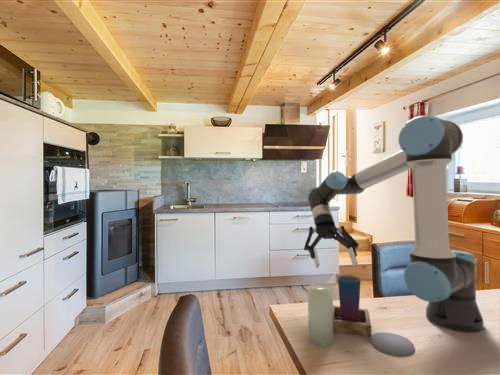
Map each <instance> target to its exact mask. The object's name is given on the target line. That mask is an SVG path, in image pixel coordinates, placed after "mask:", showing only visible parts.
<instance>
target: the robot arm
mask: <svg viewBox="0 0 500 375" xmlns="http://www.w3.org/2000/svg"><path fill="white" fill-rule="evenodd" d="M463 139H464V133H463V130H461V127H460V126H459V125H458V124H456V123H455V122H453V121H450V120H447V119H442V118H440V117H437V116H435V115H419V116H416V117H414V118H412V119H410V120H408V121H407V122H406V123H405V124H404V126H402V127H401V129H400V132H399V134H398V144H399V147H400V149H401V150H399V151H398V152H395V153H393V154H391V155H389V156H387V157H385V158H383V159H382V160H380V161H377V162H376V163H373V164H372V165H370V166H368V167H366V168H364V169H362V170H360V171H357V172H356V173H354V174H352V175H350V176H346V175H345V174H344V173H343V172H341V171H338V170H332V172H330V173H329V174H328V175H327V176H326V177H325V178H324V180H323V181H322V182H321V183H320V185H319V186H318V185H317V186H316V185H315V186H313V187H311V188H309V189H308V191H307V200H308V203H309V207H310V210H311V215H312V219H313V222H314V225H315V228H314V227H313V226H309V229H308V235H307V239H306V241H305V244H304V247H303V250H304V251H308V253H309V254H310V258H311V260H314V265H315V269H319V268H320V261H319V256H318V252H317V249H316V246H317V245H318V243H319V242H320V241H321V240H322V239H323V240H332V239H333V240H335V241H337V242H338V243H340V244H342V246H343V247H345V248H346V249H347V250H348V252H347V253H348V255H349V258H350V261H351V264H352V267H353V268H356V267H357V266H358V259H357V256H358V254H357V251H356V250H357V249H358V247H359V246H360V244H359V242H358V241H357V240H356V239H354V238H353V237H352V236H351V234H350V233H349V232H348V231H347V230H346V229H345V227H344V225H341V226H340V227H337V226H336V224H335V221H334V218H333V214H332V212H331V209H330V204H329V202H331V201H332V200H333V199H334V198H335V197H336V196H337V195H358V194H359V195H360V194H361V193H364V191H365V190H366V189H368V188H371V187H373V186H375V185H377V184H379V183H382V182H383V181H386V180H389V179H390V178H391V179H392V178H393V177H396V176H397V175H399V174H403V173H404V172H407V171H408V170H412V192H413V193H412V194H413V195H412V196H413V199H412V200H413V218H414V219H413V221H414V247H413V248H412V249H411V250H410V251H409V262H410V263H409V264H408V265H407V266H406V267H405V269H404V272H403V281H404V284H405V286H406V287H407V289H408V290H409V291H410V292H411V293H412V294H413V295H414V296H415V297H417V298H418V299H420V300H422V301H425V302H428V303H427V305H426V309H425V316H426V318H427V320H429V321H430V322H432V323H433V324H435V325H437V326H438V327H442V328H444V329H448V330H451V331H456V332H461V333H462V332H464V333H476V332H477V333H478V332H481V331H483V330H484V327H485V326H484V318H483V315H482V313H481V310H480V309H479V305H478V303H477V295H476V294H477V293H476V292H477V291H476V289H477V288H476V287H477V286H476V284H477V283H476V281H477V278H476V267H477V264H476V259H475V258H476V257H475V255H474V254H473V253H471V252H468V251H462V250H457V249H456V250H455V249H451V248H450V238H449V237H450V236H449V216H448V215H449V212H448V189H447V188H448V186H447V185H448V184H447V166H448V165H449V164H450V163H451V162H452V160H453V154H454V153H456V152H457V151H458V150H459V149H460V148H461V146H462V143H463V141H464V140H463ZM315 233H316V234H317V236H316V237H315V239H314V240H313V241H312V243H311V240H312V237H313V235H314V234H315ZM310 243H311V244H310Z"/></svg>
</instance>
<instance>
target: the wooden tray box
mask: <svg viewBox="0 0 500 375" xmlns="http://www.w3.org/2000/svg"><path fill="white" fill-rule="evenodd" d="M369 311H370V310H369V309H368V308H360V307H359V319H358V322H352V321H344V320H341V312H340V305H334V304H333V334H334V333H336V334H343V335H348V336H349V335H350V336H357V337H364V338H369V339H370V338H371V336H372V323H371V318H370V312H369ZM336 318H339V319H336ZM359 321H360V322H359ZM361 321H363V322H361Z"/></svg>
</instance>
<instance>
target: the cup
mask: <svg viewBox="0 0 500 375" xmlns="http://www.w3.org/2000/svg"><path fill="white" fill-rule="evenodd" d="M337 284H338V286H337V287H338V299H339V306H340V312H341V318H340V320H344V321H352V322H359V320H358V319H359V308H360V297H361V278H360V277H358V276H355V275H348V274H345V275H338V277H337Z"/></svg>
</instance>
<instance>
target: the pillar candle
mask: <svg viewBox="0 0 500 375" xmlns="http://www.w3.org/2000/svg"><path fill="white" fill-rule="evenodd" d="M333 290H334V289H333V287H332V286H331V285H329V284H326V283H325V284H324V283H311V284H309V285H307V312H308V313H307V314H308V315H307V318H308V321H307V322H308V324H307V325H308V327H307V328H308V340H309V342H310V343H312V344H313V345H316V346H320V347H321V346H322V347H326V346H327V347H328V346H330V345H332V344H333V343H334V332H333V305H334V304H333V303H334V302H333V301H334V299H333V298H334V294H333V292H334V291H333Z"/></svg>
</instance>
